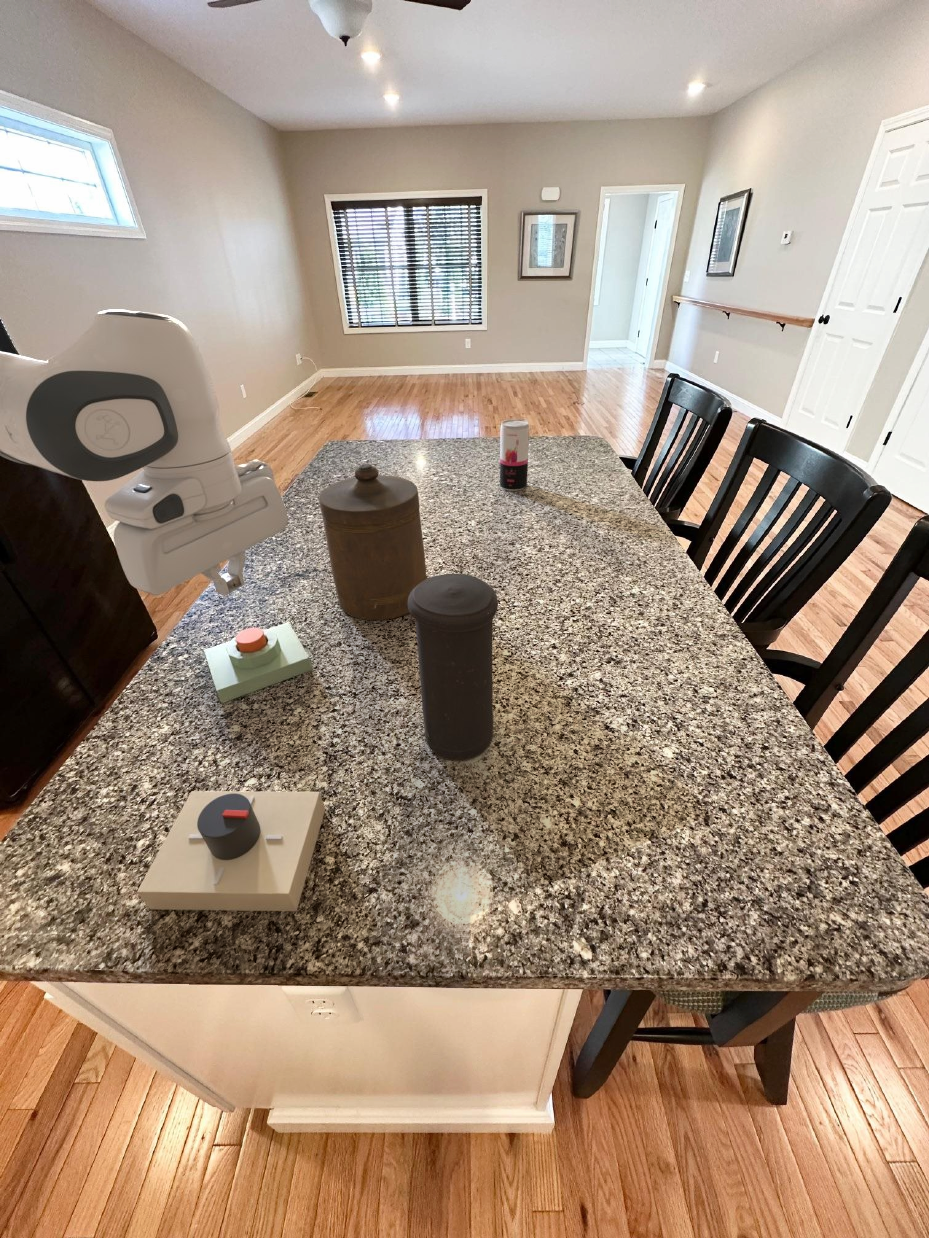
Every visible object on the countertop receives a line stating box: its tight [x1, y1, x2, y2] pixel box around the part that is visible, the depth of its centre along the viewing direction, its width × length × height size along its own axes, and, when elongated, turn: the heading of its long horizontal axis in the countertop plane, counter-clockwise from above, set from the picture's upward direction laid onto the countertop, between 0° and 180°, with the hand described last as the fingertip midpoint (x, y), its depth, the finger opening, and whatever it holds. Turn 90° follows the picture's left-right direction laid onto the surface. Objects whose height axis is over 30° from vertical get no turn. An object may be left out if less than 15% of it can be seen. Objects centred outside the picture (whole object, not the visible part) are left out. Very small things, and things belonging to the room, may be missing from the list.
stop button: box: [234, 627, 267, 653], centre depth 69 cm, size 4×4×2 cm
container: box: [408, 573, 499, 762], centre depth 55 cm, size 9×9×20 cm
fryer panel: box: [136, 790, 326, 912], centre depth 48 cm, size 13×10×3 cm
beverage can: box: [499, 418, 530, 492], centre depth 121 cm, size 6×6×15 cm
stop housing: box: [203, 621, 313, 704], centre depth 71 cm, size 12×10×4 cm
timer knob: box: [197, 793, 260, 860], centre depth 46 cm, size 4×4×4 cm
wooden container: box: [318, 463, 428, 621], centre depth 79 cm, size 15×15×22 cm
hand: (231, 589), depth 64 cm, fingers closed
